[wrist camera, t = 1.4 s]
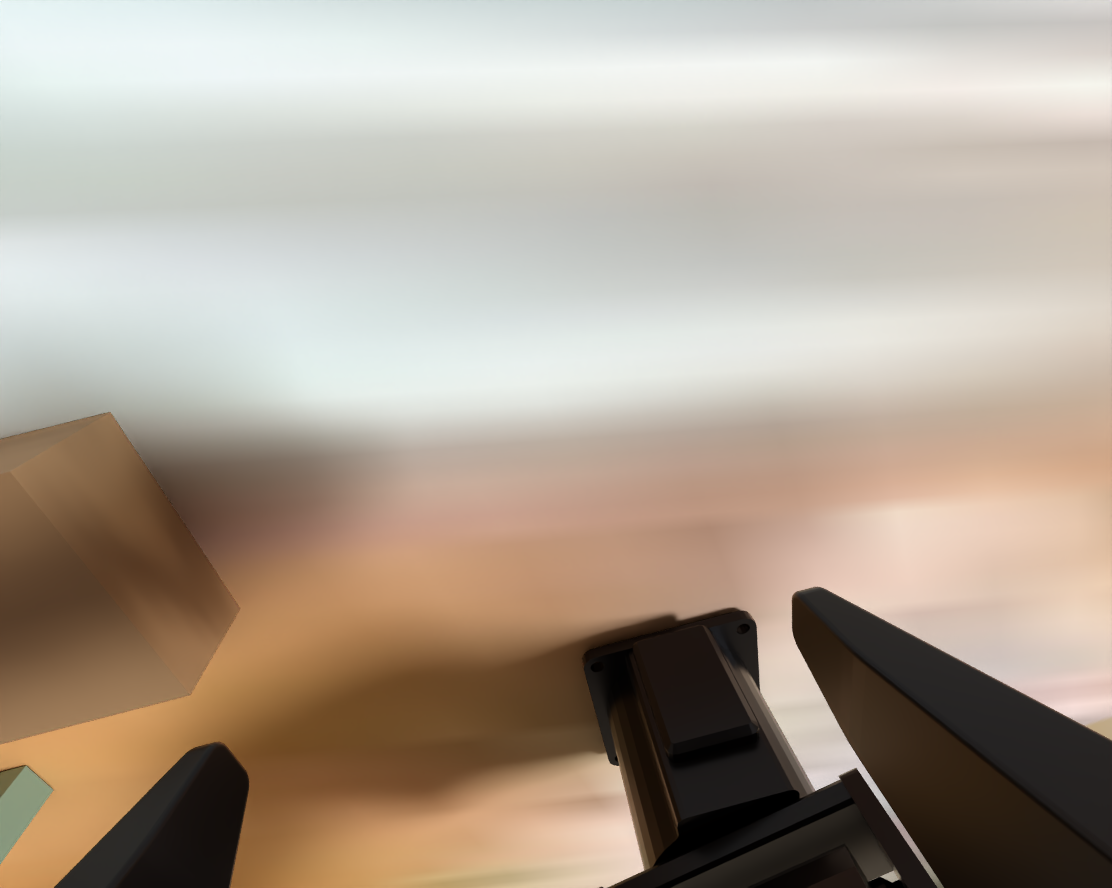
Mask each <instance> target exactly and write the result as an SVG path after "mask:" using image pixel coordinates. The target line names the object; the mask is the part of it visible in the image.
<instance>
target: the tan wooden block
mask: <svg viewBox="0 0 1112 888" xmlns="http://www.w3.org/2000/svg"><path fill="white" fill-rule="evenodd" d="M239 610H240V607H239V606H238V604H237V603H236V601H235V600H234V598H233V597H232V595H231V594H230V592H229V591H228V589H227V588H226V586H225V585H224V583H223V582H222V580H221V579H220V577H219V576H218V574H217V573H216V571H215V570H214V568H213V567H212V565H211V564H210V562H209V560H208V559H207V557H206V556H205V554H204V553H203V551H202V550H201V548H200V547H199V545H198V544H197V542H196V541H195V539H194V538H193V536H192V535H191V533H190V532H189V530H188V529H187V527H186V526H185V524H184V523H183V521H182V520H181V518H180V517H179V515H178V514H177V512H176V511H175V509H174V508H173V506H172V505H171V503H170V502H169V500H168V499H167V497H166V496H165V494H164V492H163V491H162V489H161V488H160V486H159V485H158V483H157V482H156V480H155V479H154V477H153V476H152V474H151V473H150V471H149V470H148V468H147V467H146V465H145V464H144V462H143V461H142V459H141V458H140V456H139V455H138V453H137V452H136V450H135V449H134V447H133V446H132V444H131V443H130V441H129V440H128V438H127V437H126V435H125V434H124V432H123V431H122V429H121V428H120V426H119V424H118V423H117V421H116V420H115V418H114V417H113V415H112V414H111V412H108V413H104V414H100V415H96V416H92V417H88V418H84V419H80V420H76V421H72V422H68V423H64V424H60V425H55V426H51V427H47V428H43V429H39V430H35V431H31V432H27V433H23V434H19V435H15V436H11V437H7V438H3V439H0V744H4V743H8V742H12V741H15V740H19V739H23V738H27V737H31V736H35V735H39V734H42V733H46V732H50V731H54V730H58V729H62V728H66V727H69V726H73V725H77V724H81V723H85V722H89V721H93V720H96V719H100V718H104V717H108V716H112V715H116V714H119V713H123V712H127V711H131V710H135V709H139V708H143V707H146V706H150V705H154V704H158V703H162V702H166V701H170V700H173V699H177V698H181V697H185V696H189V695H191V693H192V691H193V690H194V688H195V686H196V685H197V683H198V681H199V679H200V678H201V676H202V674H203V672H204V671H205V669H206V667H207V665H208V664H209V662H210V660H211V659H212V657H213V655H214V653H215V652H216V650H217V648H218V646H219V645H220V643H221V641H222V640H223V638H224V636H225V634H226V633H227V631H228V629H229V627H230V626H231V624H232V622H233V620H234V619H235V617H236V615H237V614H238V612H239Z"/></svg>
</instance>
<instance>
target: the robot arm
mask: <svg viewBox="0 0 1112 888" xmlns="http://www.w3.org/2000/svg"><path fill="white" fill-rule="evenodd" d="M739 625H740V626H739ZM792 631H793V636H794V639H795V642H796V644H797V646H798V648H799V650H800V652H801V654H802V656H803V658H804V659H805V661H806V663H807V665H808V667H809V669H810V671H811V673H812V675H813V676H814V678H815V680H816V682H817V684H818V686H819V688H820V690H821V692H822V694H823V695H824V697H825V699H826V701H827V703H828V705H829V707H830V709H831V711H832V712H833V714H834V716H835V718H836V720H837V722H838V724H839V726H840V727H841V729H842V731H843V733H844V735H845V736H846V738H847V740H848V742H849V743H850V745H851V747H852V748H853V750H854V751H855V753H856V755H857V756H858V758H859V759H860V761H861V762H862V764H863V765H864V767H865V768H866V770H867V771H868V773H869V774H870V776H871V777H872V779H873V781H874V782H875V784H876V785H877V787H878V788H879V790H880V791H881V793H882V794H883V796H884V797H885V799H886V800H887V802H888V803H889V805H890V806H891V808H892V809H893V811H894V812H895V814H896V815H897V817H898V818H899V820H900V821H901V823H902V824H903V826H904V827H905V829H906V830H907V832H908V834H909V835H910V837H911V838H912V840H913V841H914V843H915V844H916V846H917V847H918V849H919V850H920V852H921V853H922V855H923V856H924V858H925V859H926V861H927V862H928V864H929V865H930V867H931V868H932V870H933V871H934V873H935V874H936V876H937V877H938V879H939V880H940V882H941V883H942V885H943V887H944V888H1112V740H1110V739H1108V738H1106V737H1105V736H1103V735H1101V734H1099V733H1097V732H1095V731H1093V730H1091V729H1089V728H1088V727H1086V726H1084V725H1082V724H1080V723H1078V722H1076V721H1074V720H1072V719H1070V718H1069V717H1067V716H1065V715H1063V714H1061V713H1059V712H1057V711H1055V710H1053V709H1052V708H1050V707H1048V706H1046V705H1044V704H1042V703H1040V702H1038V701H1036V700H1034V699H1033V698H1031V697H1029V696H1027V695H1025V694H1023V693H1021V692H1019V691H1017V690H1016V689H1014V688H1012V687H1010V686H1008V685H1006V684H1004V683H1002V682H1000V681H998V680H997V679H995V678H993V677H991V676H989V675H987V674H985V673H983V672H981V671H980V670H978V669H976V668H974V667H972V666H970V665H968V664H966V663H964V662H962V661H961V660H959V659H957V658H955V657H953V656H951V655H949V654H947V653H945V652H944V651H942V650H940V649H938V648H936V647H934V646H932V645H930V644H928V643H927V642H925V641H923V640H921V639H919V638H917V637H915V636H913V635H911V634H909V633H908V632H906V631H904V630H902V629H900V628H898V627H896V626H894V625H892V624H891V623H889V622H887V621H885V620H883V619H881V618H879V617H877V616H875V615H873V614H872V613H870V612H868V611H866V610H864V609H862V608H860V607H858V606H856V605H855V604H853V603H851V602H849V601H847V600H845V599H843V598H841V597H839V596H837V595H836V594H834V593H832V592H830V591H828V590H826V589H824V588H821V587H813V588H809V589H805V590H801V591H797V592H795V593H794V594H793V596H792ZM596 662H598V663H596ZM582 663H583V667H584V672H585V675H586V679H587V683H588V686H589V690H590V694H591V697H592V701H593V704H594V708H595V712H596V715H597V719H598V723H599V726H600V730H601V734H602V737H603V741H604V744H605V748H606V752H607V755H608V759H609V762H610V763H611V764H613V765H616V766H620V771H621V775H622V779H623V783H624V787H625V791H626V795H627V800H628V804H629V808H630V812H631V816H632V820H633V825H634V829H635V833H636V837H637V841H638V845H639V850H640V854H641V858H642V862H643V866H644V870H645V871H643V872H641V873H638V874H636V875H634V876H632V877H630V878H628V879H625V880H623V881H621V882H619V883H617V884H615V885H613V886H610V887H608V888H937V886H936V885H935V883H934V882H933V880H932V879H931V878H930V876H929V875H928V873H927V872H926V870H925V869H924V867H923V866H922V864H921V863H920V861H919V860H918V858H917V857H916V855H915V854H914V852H913V851H912V849H911V848H910V847H909V845H908V844H907V842H906V841H905V839H904V838H903V836H902V835H901V833H900V832H899V830H898V829H897V827H896V826H895V824H894V823H893V821H892V820H891V818H890V817H889V816H888V814H887V813H886V811H885V810H884V808H883V807H882V805H881V804H880V802H879V801H878V799H877V798H876V796H875V795H874V793H873V792H872V790H871V789H870V787H869V786H868V785H867V783H866V782H865V780H864V779H863V777H862V776H861V774H860V773H859V771H858V770H857V768H854V769H852V770H850V771H848V772H846V773H844V774H842V775H839V778H840V780H838V781H836V782H834V783H832V784H830V785H828V786H825V787H823V788H821V789H819V790H817V791H815V789H814V788H813V786H812V784H811V782H810V781H809V779H808V777H807V775H806V773H805V772H804V770H803V768H802V766H801V764H800V763H799V761H798V759H797V757H796V755H795V754H794V752H793V750H792V748H791V746H790V745H789V743H788V741H787V739H786V738H785V736H784V734H783V732H782V730H781V729H780V727H779V725H778V723H777V721H776V720H775V718H774V716H773V714H772V712H771V711H770V709H769V707H768V705H767V703H766V702H765V700H764V698H763V696H762V695H761V693H760V684H759V665H758V646H757V627H756V623H755V621H754V619H753V618H752V616H751V615H750V614H749V613H748V612H746V611H736V612H733V613H729V614H725V615H721V616H717V617H713V618H710V619H706V620H702V621H698V622H694V623H690V624H687V625H683V626H679V627H675V628H671V629H667V630H664V631H660V632H656V633H652V634H648V635H644V636H641V637H637V638H633V639H629V640H625V641H621V642H618V643H614V644H610V645H606V646H602V647H598V648H595V649H592V650H589V651H587V652H586V653H585V654H584V656H583V658H582ZM248 791H249V778H248V774H247V772H246V770H245V769H244V767H243V766H242V765H241V764H240V762H239V761H238V760H237V759H236V757H235V756H234V755H233V754H232V752H231V751H230V750H229V749H228V747H227V746H226V745H225V744H223V743H221V742H214V743H210V744H206V745H202V746H199V747H195V748H193V749H191V750H190V751H188V752H187V753H186V754H185V755H184V756H183V757H182V758H181V759H180V760H179V761H178V762H177V763H176V764H175V765H174V766H173V767H172V768H171V769H170V770H169V771H168V772H167V773H166V774H165V775H164V776H163V777H162V778H161V779H160V780H159V781H158V782H157V783H156V784H155V785H154V786H153V787H152V788H151V789H150V790H149V791H148V792H147V793H146V794H145V795H144V796H143V797H142V798H141V799H140V800H139V802H138V803H137V804H136V805H135V806H134V807H133V808H132V809H131V810H130V811H129V812H128V813H127V814H126V815H125V816H124V817H123V818H122V819H121V820H120V821H119V822H118V823H117V824H116V825H115V826H114V827H113V828H112V829H111V830H110V831H109V832H108V833H107V834H106V835H105V836H104V837H103V838H102V839H101V840H100V841H99V842H98V843H97V844H96V845H95V846H94V847H93V848H92V849H91V850H90V851H89V852H88V853H87V854H86V855H85V857H84V858H83V859H82V860H81V861H80V862H79V863H78V864H77V865H76V866H75V867H74V868H73V869H72V870H71V871H70V872H69V873H68V874H67V875H66V876H65V877H64V878H63V879H62V880H61V881H60V882H59V883H58V884H57V885H56V886H55V887H54V888H230V885H231V880H232V875H233V870H234V864H235V859H236V854H237V849H238V844H239V838H240V833H241V828H242V823H243V817H244V812H245V807H246V802H247V796H248ZM891 871H894V872H895V874H896V876H897V877H898V879H899V880H897V881H895V882H893V883H892V882H890V881H888V880H886V879H884V878H882V877H880V876H882V875H884V874H886V873H889V872H891ZM877 877H878V878H877ZM875 878H876V879H875ZM873 879H874V880H873ZM870 880H871V881H870ZM599 888H603V887H599Z"/></svg>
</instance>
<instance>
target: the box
mask: <svg viewBox="0 0 1112 888" xmlns="http://www.w3.org/2000/svg"><path fill="white" fill-rule="evenodd" d="M52 792H53V789H52V788H51V787H50V786H48V785H47V784H46V783H45V782H44V781H43V780H42V779H41V778H39V777H38V776H37V775H36V774H35V773H34V772H33V771H32V770H30V769H29V768H28V767H27V766H23V767H19V768H15V769H11V770H7V771H3V772H0V864H1V863H2V861H3V860H4V858H5V857H6V856H7V854H8V853H9V851H10V850H11V849H12V847H13V846H14V844H15V843H16V842H17V840H18V839H19V838H20V836H21V835H22V833H23V832H24V831H25V829H26V828H27V826H28V825H29V824H30V822H31V821H32V819H33V818H34V817H35V815H36V814H37V812H38V811H39V810H40V808H41V807H42V805H43V804H44V803H45V801H46V800H47V799H48V797H49V796H50V794H51V793H52Z"/></svg>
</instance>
